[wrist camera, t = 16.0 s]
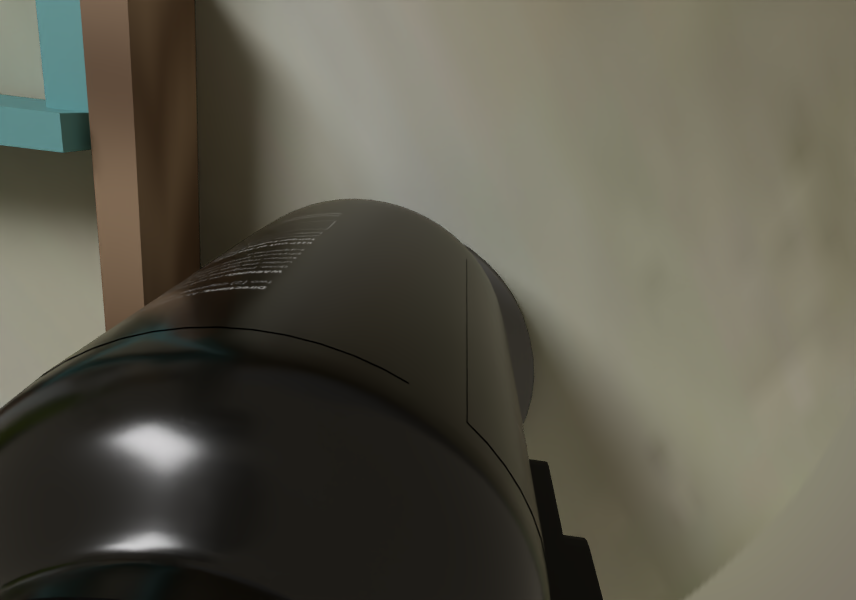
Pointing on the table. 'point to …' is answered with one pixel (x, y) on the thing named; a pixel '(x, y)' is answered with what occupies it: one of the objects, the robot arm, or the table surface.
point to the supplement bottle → (284, 432)
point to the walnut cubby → (142, 146)
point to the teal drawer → (53, 87)
